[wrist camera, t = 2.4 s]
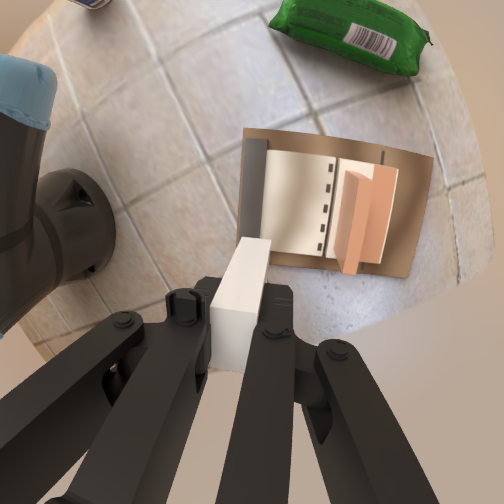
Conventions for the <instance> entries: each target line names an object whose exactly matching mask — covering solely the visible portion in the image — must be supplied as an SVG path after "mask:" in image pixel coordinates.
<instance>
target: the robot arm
mask: <svg viewBox="0 0 504 504" xmlns="http://www.w3.org/2000/svg"><path fill="white" fill-rule="evenodd" d="M56 91H57V77H56V74H55V73H54V71H53V70H52V69H51V68H50V67H48V66H46V65H43V64H40V63H36V62H33V61H29V60H25V59H22V58H18V57H14V56H10V55H5V54H1V53H0V339H2V338H3V335H4V334H5V333H6V332H7V331H8V330H9V329H10V328H11V327H12V326H13V325H15V324H16V323H17V322H18V321H19V320H20V319H21V318H22V317H23V316H24V315H25V314H27V313H28V312H29V311H30V310H31V309H32V308H33V307H34V306H35V305H37V304H38V303H39V302H40V301H41V300H42V299H44V298H45V297H46V296H47V295H48V294H50V293H51V292H52V291H53V290H54V289H56V288H57V287H59V286H63V285H67V284H71V283H75V282H79V281H83V280H86V279H88V278H90V277H92V276H93V275H95V274H96V273H97V272H98V271H99V270H101V269H102V268H103V267H104V266H105V265H106V264H107V262H108V261H109V259H110V257H111V255H112V252H113V249H114V243H115V224H114V218H113V214H112V211H111V208H110V205H109V203H108V200H107V198H106V196H105V195H104V193H103V191H102V190H101V188H100V187H99V186H98V185H97V183H96V182H95V181H94V180H93V179H92V178H90V177H89V176H88V175H86V174H85V173H83V172H81V171H79V170H75V169H61V170H58V171H54V172H51V173H49V174H47V175H45V176H43V177H42V178H41V179H40V180H38V175H39V168H40V162H41V157H42V151H43V146H44V141H45V137H46V132H47V130H49V129H50V126H51V123H50V116H51V111H52V107H53V102H54V98H55V94H56ZM270 249H271V240H268V239H259V238H249V237H242V238H241V240H240V242H239V244H238V246H237V248H236V251H235V253H234V255H233V257H232V259H231V261H230V264H229V266H228V268H227V270H226V272H225V274H224V277H223V279H222V278H214V277H207V276H206V277H204V278H202V279H201V280H199V281H198V282H197V284H196V285H195V287H194V289H190V288H181V289H176V290H173V291H171V292H169V293H168V294H167V295H165V297H166V308H167V318H166V320H165V321H164V322H161V323H143V319H142V317H141V315H139V314H138V313H136V312H133V311H120V312H116V313H114V314H112V315H110V316H109V317H107V318H106V319H105V320H103V321H102V322H100V323H99V324H98V325H96V326H95V327H94V328H92V329H91V330H90V331H88V332H87V333H86V334H84V335H83V336H82V337H80V338H79V339H78V340H76V341H75V342H74V343H72V344H71V345H70V346H68V347H67V348H66V349H64V350H63V351H62V352H60V353H59V354H58V355H56V356H55V357H54V358H52V359H51V360H50V361H49V362H47V363H46V364H45V365H43V366H42V367H41V368H39V369H38V370H37V371H36V372H34V373H33V374H32V375H30V376H29V377H28V378H27V379H25V380H24V381H23V382H22V383H20V384H19V385H18V386H17V387H15V388H14V389H13V390H11V391H10V392H9V393H8V394H7V395H5V396H4V397H3V398H2V399H1V400H0V504H36V503H37V502H38V501H39V500H40V499H41V498H42V497H43V496H44V495H45V494H46V493H47V492H48V491H49V490H50V489H51V488H52V487H53V486H54V485H55V484H56V483H57V482H58V481H59V480H60V479H61V478H62V477H63V476H64V475H65V473H66V472H67V471H68V470H69V469H70V468H71V467H72V466H73V465H74V464H75V463H76V462H77V461H78V460H79V459H80V458H81V457H82V456H83V455H84V454H85V452H86V451H87V450H88V449H89V448H90V449H89V450H88V452H87V454H86V456H85V458H84V460H83V461H82V463H81V465H80V467H79V469H78V471H77V473H76V475H75V477H74V478H73V480H72V482H71V484H70V486H69V488H68V490H67V491H66V493H65V494H64V495H63V496H61V497H56V498H51V499H49V500H48V501H47V502H45V503H44V504H166V502H167V498H168V495H169V492H170V489H171V486H172V483H173V480H174V477H175V474H176V471H177V468H178V465H179V462H180V459H181V456H182V453H183V450H184V447H185V444H186V441H187V438H188V435H189V432H190V429H191V426H192V423H193V420H194V417H195V414H196V411H197V408H198V405H199V402H200V399H201V395H202V393H203V390H204V387H205V384H206V381H207V376H208V371H207V367H208V364H209V362H211V368H214V369H220V370H227V371H233V372H240V373H244V377H243V382H242V387H241V391H240V396H239V401H238V405H237V410H236V415H235V419H234V424H233V428H232V433H231V437H230V441H229V446H228V450H227V455H226V459H225V464H224V468H223V473H222V477H221V481H220V486H219V490H218V494H217V498H216V502H215V504H288V494H289V481H290V466H291V450H292V431H293V407H294V402H296V403H299V404H301V405H302V411H303V414H304V417H305V420H306V424H307V427H308V430H309V433H310V437H311V440H312V443H313V447H314V450H315V453H316V457H317V459H318V463H319V467H320V469H321V473H322V476H323V479H324V483H325V486H326V490H327V493H328V496H329V499H330V503H331V504H439V502H438V500H437V498H436V495H435V493H434V491H433V489H432V487H431V485H430V483H429V481H428V480H427V477H426V475H425V473H424V471H423V469H422V467H421V466H420V463H419V462H418V459H417V457H416V456H415V454H414V452H413V450H412V448H411V446H410V444H409V442H408V440H407V438H406V437H405V435H404V433H403V431H402V429H401V427H400V425H399V423H398V421H397V420H396V418H395V416H394V414H393V412H392V410H391V409H390V407H389V405H388V403H387V401H386V400H385V398H384V396H383V394H382V392H381V391H380V389H379V387H378V385H377V384H376V382H375V380H374V379H373V377H372V375H371V373H370V371H369V370H368V368H367V366H366V364H365V363H364V361H363V359H362V357H361V356H360V354H359V352H358V351H357V349H356V348H355V347H354V346H353V345H352V344H350V343H348V342H346V341H343V340H340V339H329V340H324V341H323V342H321V343H320V344H319V345H318V346H314V345H311V344H308V343H306V342H304V341H302V340H301V339H299V338H298V337H297V336H296V335H295V333H294V330H293V291H292V290H291V289H290V287H289V286H288V285H279V284H270V283H267V278H268V268H269V258H270ZM114 364H116V366H115V367H114V368H113V369H111V370H110V368H111V367H112V366H113V365H114Z"/></svg>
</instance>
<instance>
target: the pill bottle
mask: <svg viewBox="0 0 504 504" xmlns="http://www.w3.org/2000/svg"><path fill="white" fill-rule="evenodd" d="M69 1H71V2H74V3H76V4H79V5H81V6H83V7H85V8H88V9H97V8H100V7H102V6H104V5H105V4H107V3H108V2H109V1H110V0H69Z"/></svg>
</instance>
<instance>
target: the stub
mask: <svg viewBox="0 0 504 504" xmlns="http://www.w3.org/2000/svg"><path fill="white" fill-rule="evenodd" d="M398 170H399V169H397V168H393V167H388V166H383V165H378V164H372V163H367V162H361V161H355V160H349V159H342V158H338V165H337V174H336V182H335V189H334V197H333V204H332V211H331V217H330V224H329V230H328V236H327V242H326V248H325V256H326V258H335V259H337V260H338V263H339V266H340V269H341V272H342V274H349V275H356V272H357V268H358V263H359V262H368V263H377V264H379V263H380V262H381V258H382V254H383V250H384V245H385V241H386V236H387V232H388V227H389V222H390V217H391V212H392V207H393V201H394V195H395V190H396V183H397V177H398Z"/></svg>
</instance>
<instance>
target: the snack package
mask: <svg viewBox="0 0 504 504" xmlns="http://www.w3.org/2000/svg"><path fill="white" fill-rule="evenodd" d="M268 27H270V28H272V29H274V30H277V31H280V32H282V33H284V34H286V35H288V36H289V37H291V38H293V39H295V40H297V41H300V42H304V43H308V44H311V45H314V46H318V47H321V48H324V49H327V50H330V51H332V52H335V53H337V54H339V55H341V56H344V57H346V58H349V59H352V60H354V61H357V62H359V63H362V64H365V65H367V66H370V67H373V68H375V69H377V70H380V71H382V72H385V73H389V74H394V75H403V76H416V75H417V74H418V72H419V58H420V54H421V52H422V50H423V48H424V46H425V44H426V43H427V42H429V43H430V44H431V46H432V45H433V44H432V43H431V42H430V37H429V32H428V31H426V30H423V29H421V28H420V27H419V25H418V24H417V23H416V22H415V21H414V20H412V19H411V18H410V17H408V16H407V15H405V14H404V13H402V12H400V11H398V10H396V9H394V8H393V7H391V6H388V5H386V4H384V3H381V2H379V1H377V0H283V2H282V5H281V7H280V10H279V12H278V13H277V15H276V16H275V17H274V18H273V19H272V20H271V21H270V23H269V26H268Z"/></svg>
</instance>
